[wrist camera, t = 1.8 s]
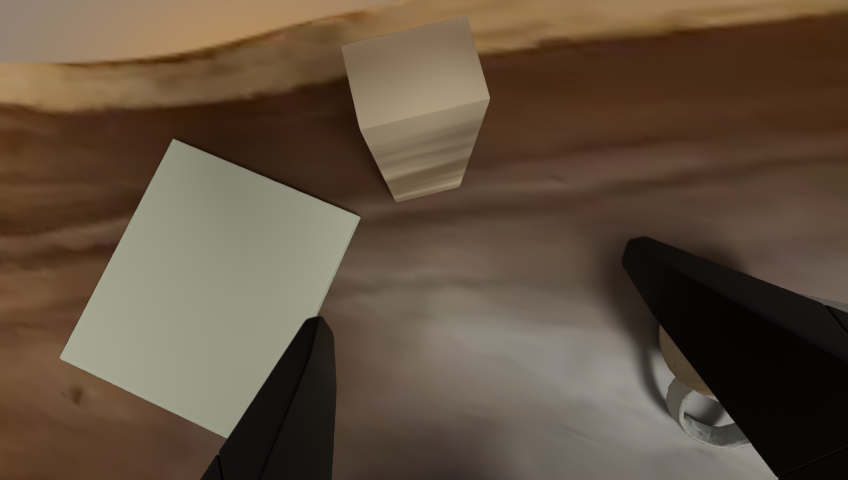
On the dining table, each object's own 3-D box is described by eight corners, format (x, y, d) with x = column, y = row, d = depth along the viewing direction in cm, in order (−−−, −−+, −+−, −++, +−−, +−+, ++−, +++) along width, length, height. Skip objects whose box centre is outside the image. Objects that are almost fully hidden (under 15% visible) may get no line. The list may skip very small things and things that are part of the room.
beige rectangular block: (459, 187, 23) (489, 98, 11) (396, 202, 23) (359, 129, 11) (448, 144, 24) (466, 15, 12) (385, 159, 24) (340, 45, 12)
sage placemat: (257, 448, 22) (254, 451, 21) (65, 356, 23) (59, 358, 22) (360, 217, 23) (359, 216, 23) (177, 140, 24) (173, 138, 24)
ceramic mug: (657, 271, 22) (775, 274, 15) (772, 298, 22) (954, 315, 14) (632, 418, 22) (743, 503, 14) (750, 448, 21) (932, 552, 13)
